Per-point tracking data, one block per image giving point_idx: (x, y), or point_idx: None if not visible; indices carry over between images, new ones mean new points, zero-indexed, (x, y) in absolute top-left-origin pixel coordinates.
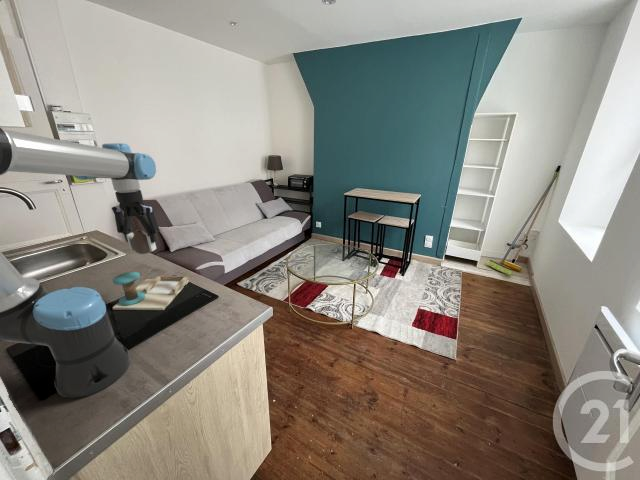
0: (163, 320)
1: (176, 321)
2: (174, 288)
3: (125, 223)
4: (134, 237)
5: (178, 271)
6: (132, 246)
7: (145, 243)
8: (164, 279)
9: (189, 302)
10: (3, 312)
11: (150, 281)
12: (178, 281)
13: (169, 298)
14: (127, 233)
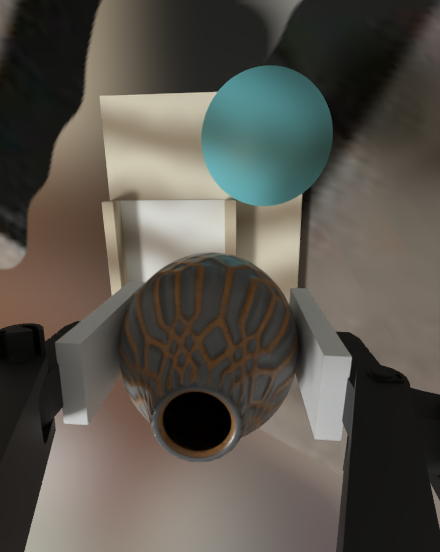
0: (62, 28)
1: (11, 24)
2: (107, 210)
3: (388, 516)
4: (229, 323)
5: None
6: (261, 272)
7: (136, 296)
8: None
9: (38, 158)
10: None
11: None
12: None
13: (114, 166)
14: (350, 389)
